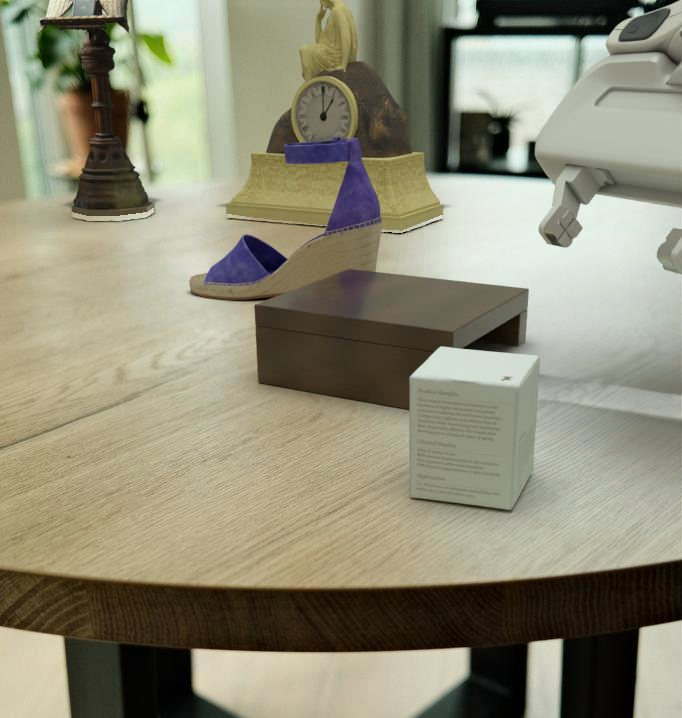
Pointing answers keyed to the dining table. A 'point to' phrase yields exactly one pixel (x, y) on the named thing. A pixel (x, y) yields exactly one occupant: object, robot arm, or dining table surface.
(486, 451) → the product box
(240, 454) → the dining table surface
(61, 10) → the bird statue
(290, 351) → the low wooden riser
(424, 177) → the decorative clock
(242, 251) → the sandal
